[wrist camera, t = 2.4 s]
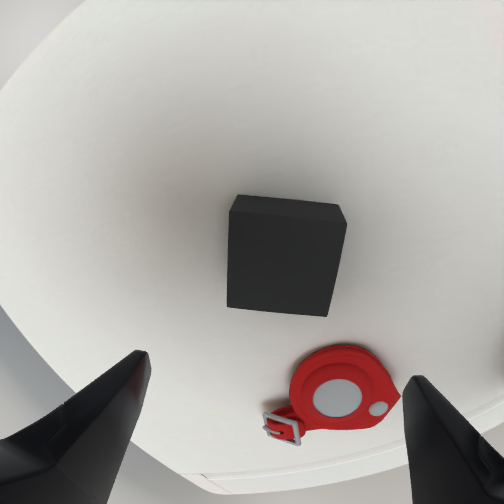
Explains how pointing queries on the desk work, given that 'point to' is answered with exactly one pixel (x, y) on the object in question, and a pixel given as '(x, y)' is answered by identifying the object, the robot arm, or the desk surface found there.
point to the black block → (283, 254)
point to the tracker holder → (334, 394)
